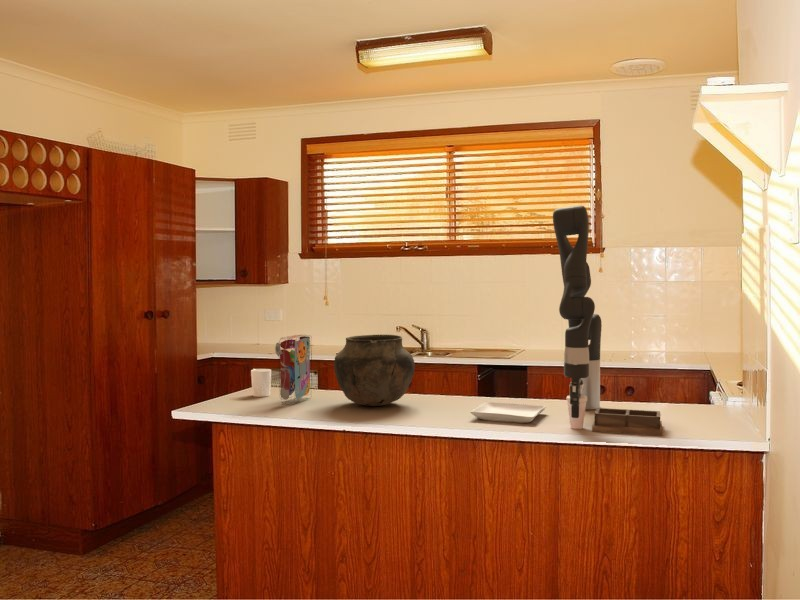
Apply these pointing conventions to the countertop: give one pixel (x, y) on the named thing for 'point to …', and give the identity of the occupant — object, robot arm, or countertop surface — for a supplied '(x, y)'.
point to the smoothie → (578, 422)
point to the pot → (374, 369)
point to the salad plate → (507, 412)
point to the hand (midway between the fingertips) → (576, 415)
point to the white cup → (261, 382)
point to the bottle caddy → (627, 421)
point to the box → (299, 375)
